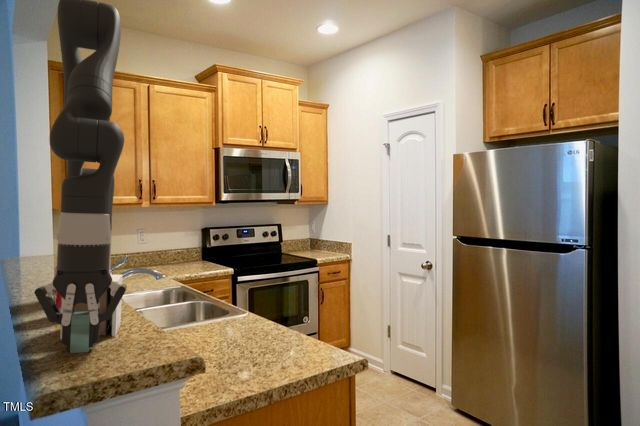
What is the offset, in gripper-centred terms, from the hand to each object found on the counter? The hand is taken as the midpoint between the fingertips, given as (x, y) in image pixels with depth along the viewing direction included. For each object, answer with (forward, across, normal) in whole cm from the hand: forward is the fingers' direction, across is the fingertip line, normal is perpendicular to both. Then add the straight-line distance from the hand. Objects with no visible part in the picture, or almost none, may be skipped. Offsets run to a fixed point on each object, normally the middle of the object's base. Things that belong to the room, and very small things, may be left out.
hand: (80, 346), depth 70 cm
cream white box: (+1, 0, -11) cm, 11 cm away
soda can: (+1, +6, -25) cm, 26 cm away
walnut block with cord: (+1, 0, -6) cm, 6 cm away
